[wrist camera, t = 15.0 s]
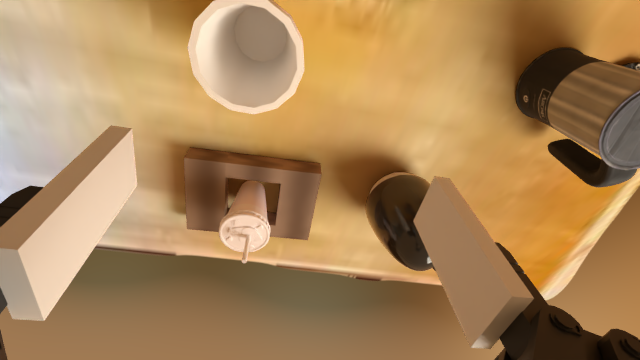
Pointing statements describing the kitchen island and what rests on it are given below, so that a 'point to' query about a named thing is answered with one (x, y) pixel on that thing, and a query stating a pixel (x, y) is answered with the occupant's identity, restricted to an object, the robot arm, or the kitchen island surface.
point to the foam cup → (246, 54)
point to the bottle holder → (217, 167)
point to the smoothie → (246, 220)
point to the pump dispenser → (399, 217)
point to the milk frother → (586, 112)
